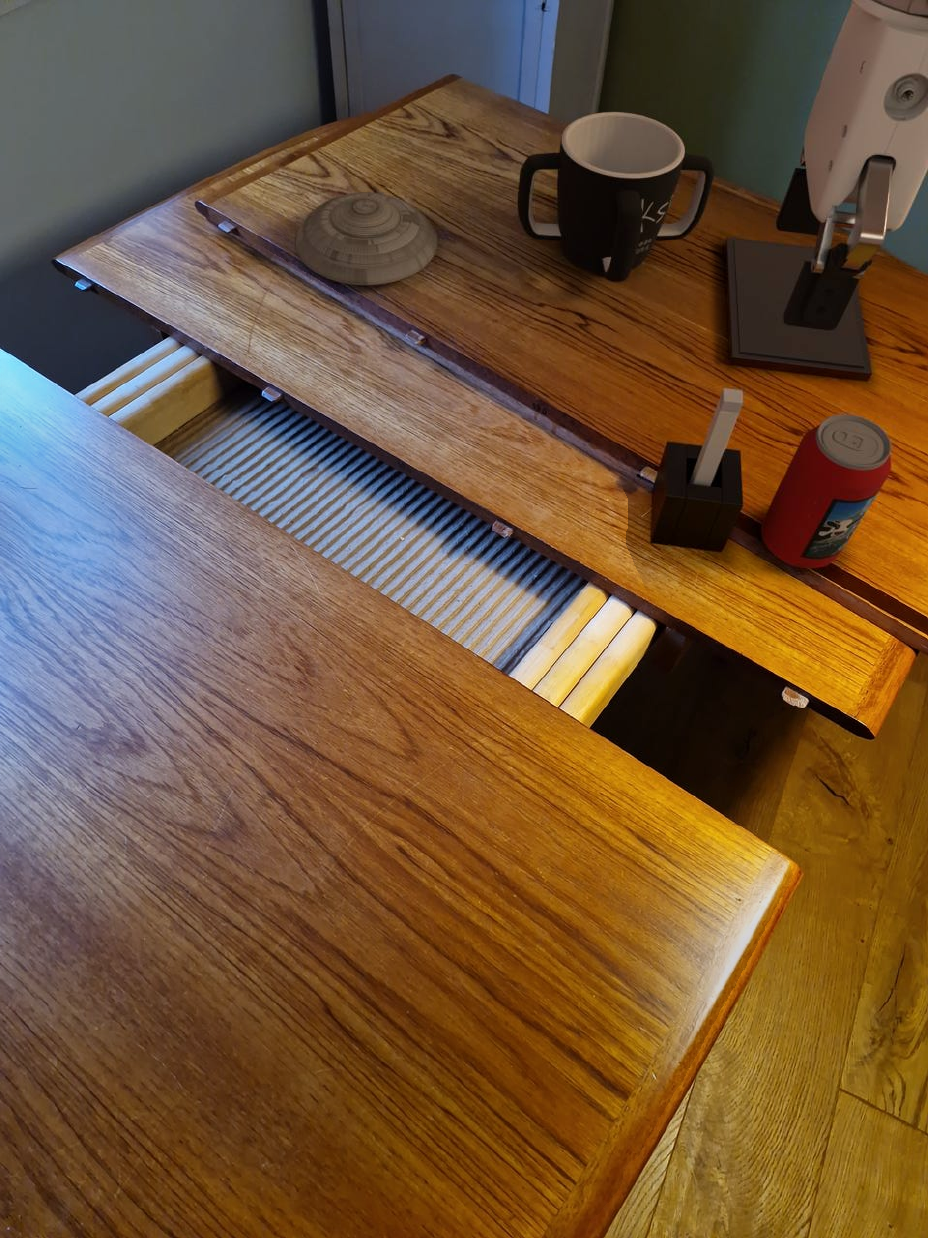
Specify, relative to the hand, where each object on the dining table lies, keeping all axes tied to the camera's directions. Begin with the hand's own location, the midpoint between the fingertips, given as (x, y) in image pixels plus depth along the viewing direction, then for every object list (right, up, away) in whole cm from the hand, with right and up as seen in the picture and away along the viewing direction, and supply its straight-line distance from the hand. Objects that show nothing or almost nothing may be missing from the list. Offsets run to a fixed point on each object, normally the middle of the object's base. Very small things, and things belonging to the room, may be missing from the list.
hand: (803, 275), depth 57 cm
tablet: (+12, +10, +36) cm, 40 cm away
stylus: (-3, -13, +19) cm, 24 cm away
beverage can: (+7, -15, +19) cm, 25 cm away
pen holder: (-3, -13, +19) cm, 24 cm away
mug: (-6, +18, +41) cm, 45 cm away
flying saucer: (-32, +17, +39) cm, 53 cm away
